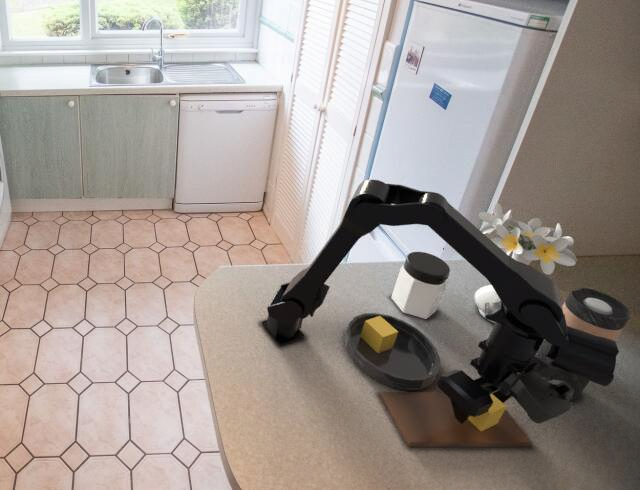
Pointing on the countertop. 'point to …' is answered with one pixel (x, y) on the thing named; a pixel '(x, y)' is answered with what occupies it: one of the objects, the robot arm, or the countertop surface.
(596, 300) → the travel mug
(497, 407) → the cheese front
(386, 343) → the cheese back
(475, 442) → the board
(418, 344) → the pan
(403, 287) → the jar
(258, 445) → the countertop surface
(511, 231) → the flower vase
